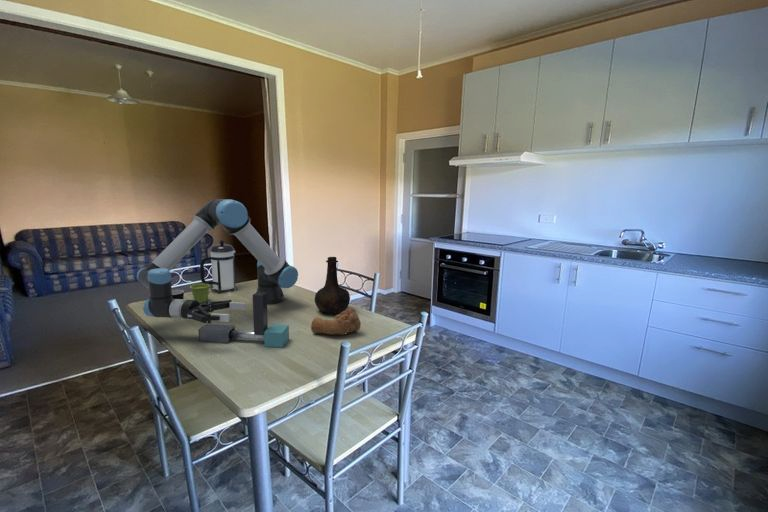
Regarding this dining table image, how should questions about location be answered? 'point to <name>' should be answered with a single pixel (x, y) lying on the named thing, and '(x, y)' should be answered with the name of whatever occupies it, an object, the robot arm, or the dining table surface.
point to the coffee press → (220, 267)
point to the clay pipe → (337, 323)
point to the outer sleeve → (215, 333)
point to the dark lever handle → (255, 319)
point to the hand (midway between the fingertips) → (237, 311)
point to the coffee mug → (177, 294)
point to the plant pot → (200, 292)
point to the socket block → (276, 335)
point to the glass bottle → (332, 292)
